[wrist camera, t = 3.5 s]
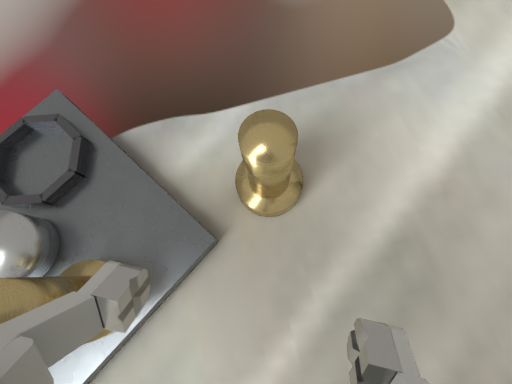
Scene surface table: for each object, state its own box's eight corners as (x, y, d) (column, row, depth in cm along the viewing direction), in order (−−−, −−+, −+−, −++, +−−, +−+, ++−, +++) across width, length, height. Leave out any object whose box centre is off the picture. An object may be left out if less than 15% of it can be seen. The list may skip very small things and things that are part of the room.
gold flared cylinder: (313, 183, 25) (338, 130, 16) (272, 230, 24) (272, 203, 15) (266, 146, 27) (263, 76, 17) (225, 189, 26) (198, 140, 16)
